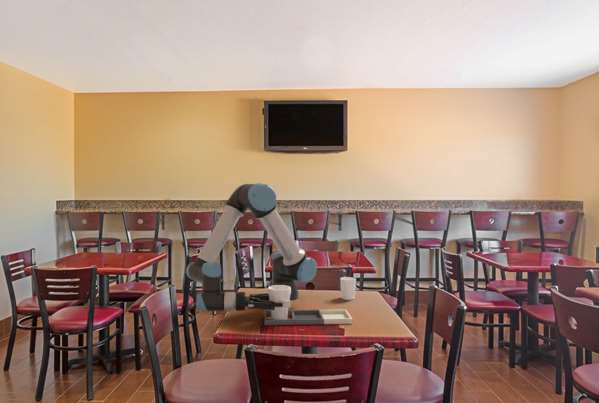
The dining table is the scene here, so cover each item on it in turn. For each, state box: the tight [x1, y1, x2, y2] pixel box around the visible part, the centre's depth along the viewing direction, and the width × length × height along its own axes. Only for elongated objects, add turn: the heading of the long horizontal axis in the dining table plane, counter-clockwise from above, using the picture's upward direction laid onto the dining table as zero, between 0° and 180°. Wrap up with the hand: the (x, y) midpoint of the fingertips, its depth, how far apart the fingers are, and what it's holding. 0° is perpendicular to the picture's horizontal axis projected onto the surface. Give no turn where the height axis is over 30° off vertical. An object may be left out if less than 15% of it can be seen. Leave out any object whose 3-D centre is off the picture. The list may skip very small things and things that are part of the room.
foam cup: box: [267, 285, 291, 320], centre depth 165 cm, size 10×9×13 cm
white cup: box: [339, 276, 357, 301], centre depth 201 cm, size 8×8×10 cm
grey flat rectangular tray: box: [264, 308, 353, 326], centre depth 166 cm, size 35×13×2 cm, turn 95°
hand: (290, 300), depth 165 cm, fingers closed on foam cup, 9 cm apart
